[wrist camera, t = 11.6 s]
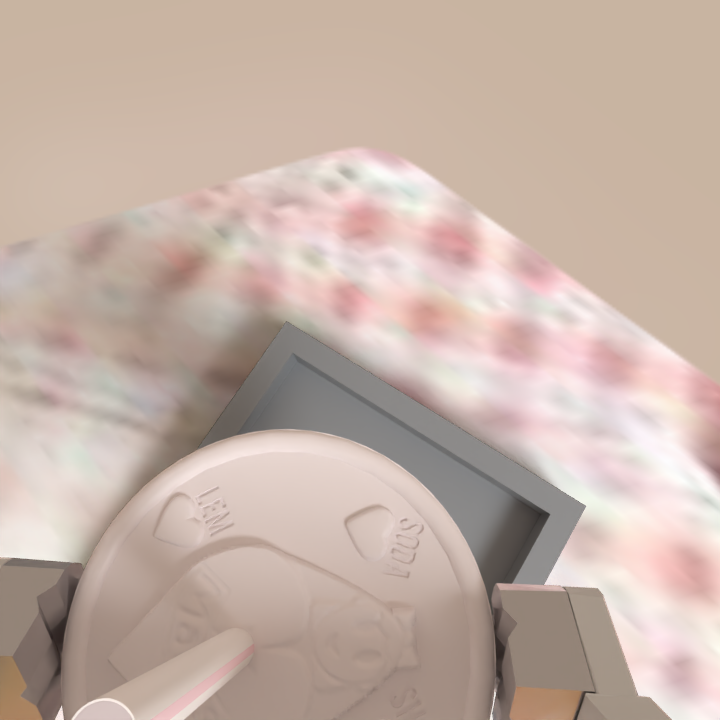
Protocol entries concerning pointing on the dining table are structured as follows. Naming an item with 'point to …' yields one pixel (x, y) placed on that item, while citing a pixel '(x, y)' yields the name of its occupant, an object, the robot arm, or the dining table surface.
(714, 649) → the dining table surface
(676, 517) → the dining table surface
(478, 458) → the tray
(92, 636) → the smoothie
